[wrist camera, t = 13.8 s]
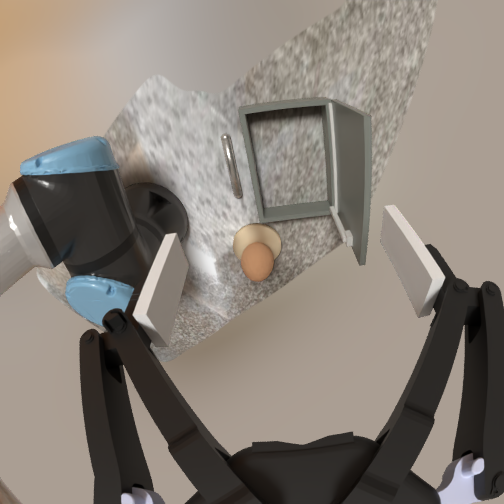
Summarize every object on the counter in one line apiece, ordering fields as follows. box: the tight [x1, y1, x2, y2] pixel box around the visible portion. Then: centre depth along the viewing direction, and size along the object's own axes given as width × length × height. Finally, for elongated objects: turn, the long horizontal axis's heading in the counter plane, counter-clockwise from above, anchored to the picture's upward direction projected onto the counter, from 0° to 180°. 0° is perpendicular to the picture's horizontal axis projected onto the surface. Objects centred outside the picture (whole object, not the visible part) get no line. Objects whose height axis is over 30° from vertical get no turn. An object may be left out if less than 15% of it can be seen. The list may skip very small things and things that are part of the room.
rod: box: [221, 134, 242, 198], centre depth 43 cm, size 1×11×1 cm, turn 10°
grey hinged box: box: [238, 97, 372, 265], centre depth 36 cm, size 14×19×17 cm
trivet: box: [233, 223, 281, 260], centre depth 52 cm, size 9×9×1 cm
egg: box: [241, 242, 274, 282], centre depth 49 cm, size 6×6×8 cm
